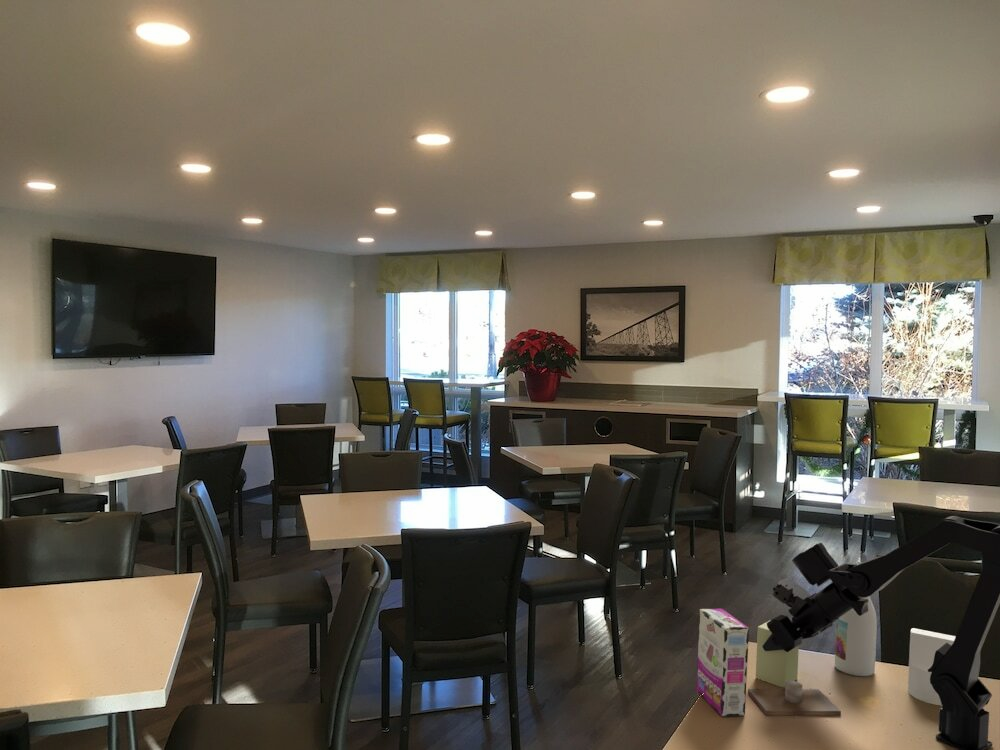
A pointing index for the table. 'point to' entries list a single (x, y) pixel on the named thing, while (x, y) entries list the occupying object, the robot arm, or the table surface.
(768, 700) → the walnut stud board
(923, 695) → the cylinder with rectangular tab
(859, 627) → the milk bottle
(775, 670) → the pale green upright block
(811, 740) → the table surface
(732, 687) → the candy bar box
